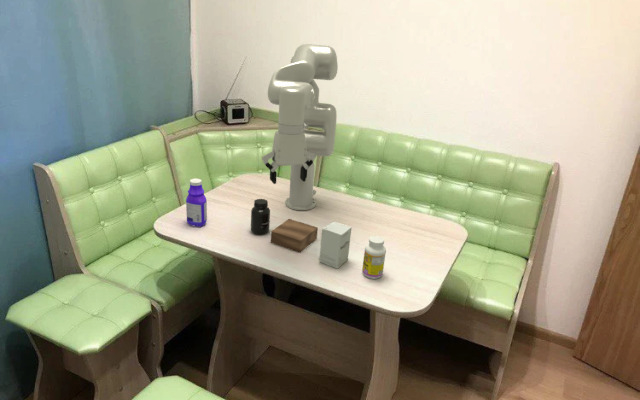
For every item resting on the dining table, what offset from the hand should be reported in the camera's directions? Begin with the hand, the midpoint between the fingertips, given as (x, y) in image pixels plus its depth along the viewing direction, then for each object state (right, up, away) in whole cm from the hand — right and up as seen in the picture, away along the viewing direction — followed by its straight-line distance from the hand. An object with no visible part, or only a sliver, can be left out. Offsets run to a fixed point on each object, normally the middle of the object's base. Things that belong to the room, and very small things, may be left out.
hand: (288, 181), depth 155 cm
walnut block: (+1, -21, +21) cm, 30 cm away
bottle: (-36, -15, +28) cm, 47 cm away
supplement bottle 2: (+27, -30, +4) cm, 41 cm away
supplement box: (+15, -27, +10) cm, 32 cm away
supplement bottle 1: (-12, -18, +26) cm, 33 cm away
